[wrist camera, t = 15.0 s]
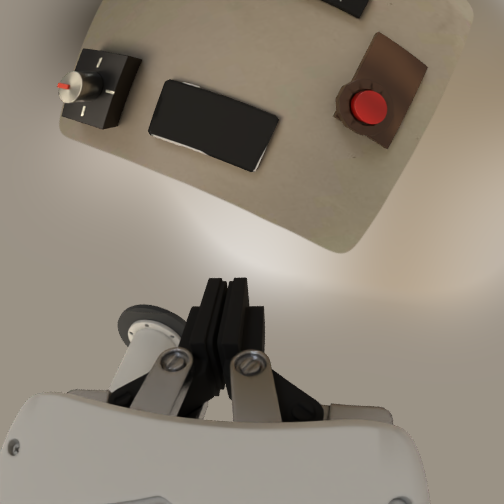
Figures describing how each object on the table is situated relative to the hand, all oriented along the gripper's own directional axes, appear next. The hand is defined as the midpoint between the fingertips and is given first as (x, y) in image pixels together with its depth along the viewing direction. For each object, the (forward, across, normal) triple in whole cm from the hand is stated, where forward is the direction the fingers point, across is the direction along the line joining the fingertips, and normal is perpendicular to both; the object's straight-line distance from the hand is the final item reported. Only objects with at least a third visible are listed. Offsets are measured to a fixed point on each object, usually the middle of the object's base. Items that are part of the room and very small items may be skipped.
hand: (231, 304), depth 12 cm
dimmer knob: (+21, +20, -16) cm, 33 cm away
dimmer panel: (+25, +20, -16) cm, 36 cm away
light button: (+22, -14, -9) cm, 28 cm away
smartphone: (+25, +5, -8) cm, 27 cm away
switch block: (+25, -17, -12) cm, 32 cm away
